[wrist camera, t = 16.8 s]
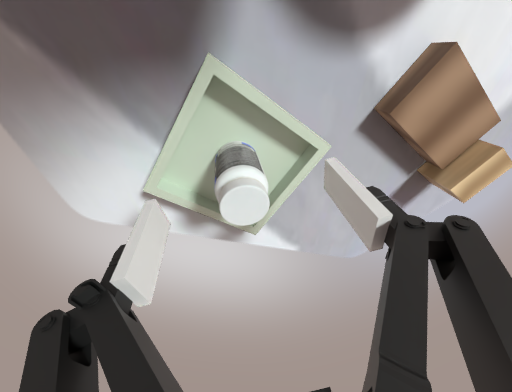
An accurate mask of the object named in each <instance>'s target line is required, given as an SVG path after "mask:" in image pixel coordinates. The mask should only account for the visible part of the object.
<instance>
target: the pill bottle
mask: <svg viewBox="0 0 512 392" xmlns="http://www.w3.org/2000/svg"><path fill="white" fill-rule="evenodd" d="M214 189H215V196H216V198H217V200H218V202H219V210H220V213H221V215H222V217H223V218H224V219H225V220H226V221H227V222H229V223H231V224H234V225H239V226H245V225H251V224H254V223H256V222H258V221H260V220H261V219H262V218H263V217H264V216H265V215H266V214H267V212H268V210H269V205H270V201H269V197H268V181H267V178H266V176H265V173H264V171H263V168H262V166H261V163H260V160H259V157H258V155H257V153H256V151H255V149H254V148H253V147H252V146H251V145H249V144H248V143H246V142H243V141H232V142H229V143H226V144H225V145H223V146H222V147H221V148H220V149H219V151H218V152H217V154H216V158H215V187H214Z"/></svg>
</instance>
